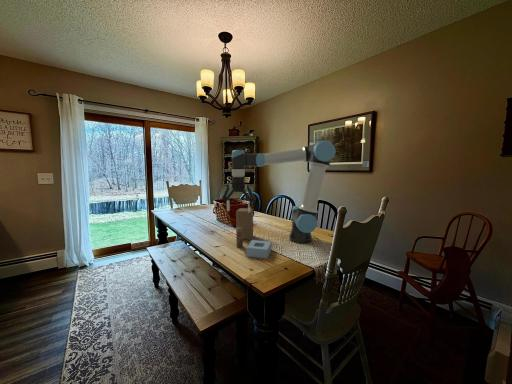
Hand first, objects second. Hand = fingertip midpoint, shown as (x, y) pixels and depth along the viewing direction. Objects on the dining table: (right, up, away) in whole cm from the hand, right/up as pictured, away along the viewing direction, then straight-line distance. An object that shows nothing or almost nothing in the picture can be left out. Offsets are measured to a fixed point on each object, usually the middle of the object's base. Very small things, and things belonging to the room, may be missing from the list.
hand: (238, 211), depth 125 cm
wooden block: (+3, -20, +20) cm, 28 cm away
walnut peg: (0, -22, +3) cm, 23 cm away
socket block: (+12, -23, -7) cm, 27 cm away
